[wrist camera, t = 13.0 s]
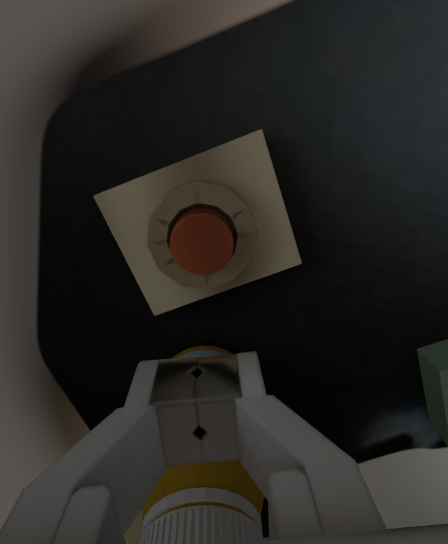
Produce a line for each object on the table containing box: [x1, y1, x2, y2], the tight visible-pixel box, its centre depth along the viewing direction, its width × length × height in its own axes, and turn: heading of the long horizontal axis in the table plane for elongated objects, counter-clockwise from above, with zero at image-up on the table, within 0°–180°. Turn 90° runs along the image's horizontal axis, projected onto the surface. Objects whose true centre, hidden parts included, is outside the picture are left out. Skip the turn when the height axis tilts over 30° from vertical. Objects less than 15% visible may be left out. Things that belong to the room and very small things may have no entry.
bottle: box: [139, 346, 264, 544], centre depth 21 cm, size 7×7×15 cm
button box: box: [94, 129, 302, 315], centre depth 21 cm, size 11×9×4 cm
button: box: [170, 208, 234, 275], centre depth 19 cm, size 4×4×2 cm
